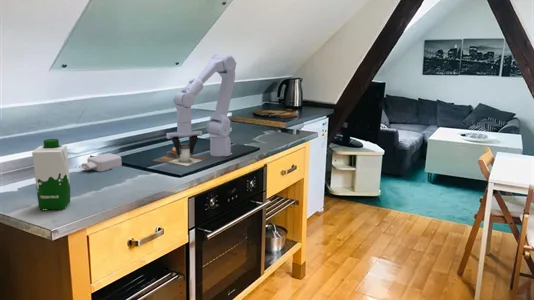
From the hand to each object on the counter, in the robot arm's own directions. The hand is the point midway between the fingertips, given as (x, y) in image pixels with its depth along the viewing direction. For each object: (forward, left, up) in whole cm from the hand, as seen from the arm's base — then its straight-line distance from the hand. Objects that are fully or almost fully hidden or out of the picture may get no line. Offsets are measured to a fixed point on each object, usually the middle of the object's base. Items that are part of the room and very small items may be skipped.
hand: (184, 154), depth 183 cm
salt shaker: (0, 0, -3) cm, 3 cm away
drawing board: (-1, -4, -4) cm, 5 cm away
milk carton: (+60, -3, -4) cm, 60 cm away
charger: (+25, -23, -4) cm, 34 cm away
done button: (-5, -8, -2) cm, 10 cm away
